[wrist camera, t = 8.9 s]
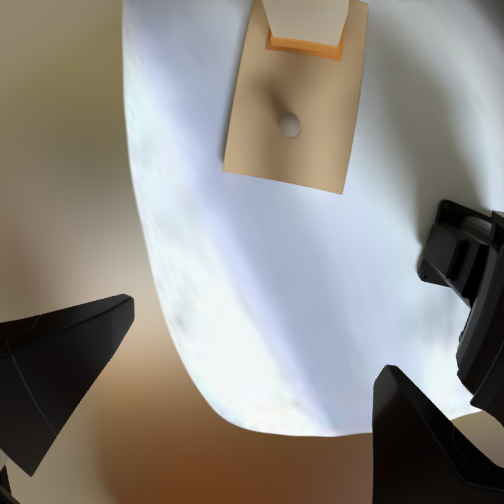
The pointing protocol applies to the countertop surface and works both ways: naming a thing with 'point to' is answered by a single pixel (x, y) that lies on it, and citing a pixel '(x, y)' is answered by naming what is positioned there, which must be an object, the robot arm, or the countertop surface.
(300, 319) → the countertop surface
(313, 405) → the countertop surface
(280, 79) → the pin board
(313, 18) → the sleeve
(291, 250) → the countertop surface
